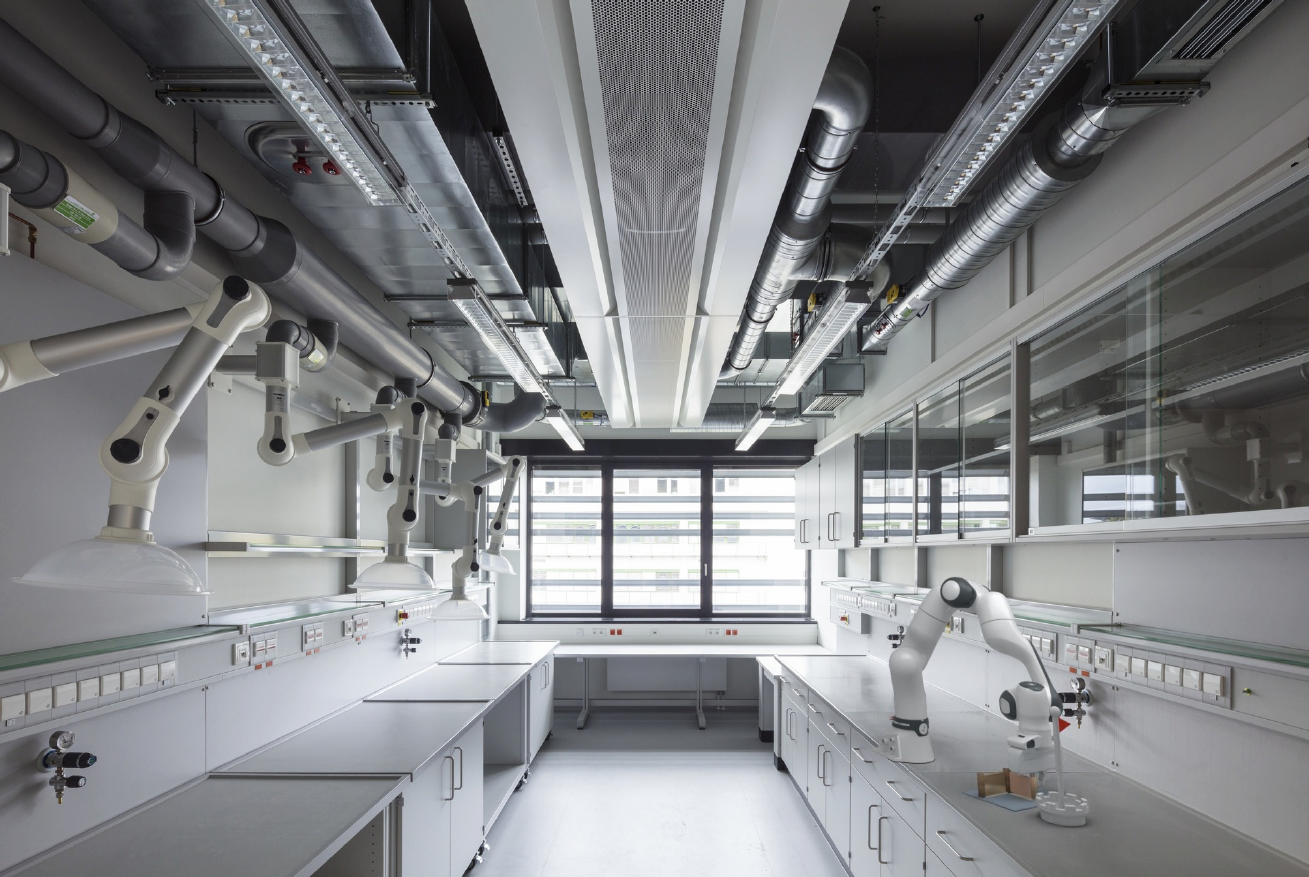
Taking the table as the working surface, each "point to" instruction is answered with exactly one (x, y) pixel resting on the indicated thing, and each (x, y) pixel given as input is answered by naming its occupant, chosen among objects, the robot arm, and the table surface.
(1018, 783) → the fence section
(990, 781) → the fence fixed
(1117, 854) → the table surface
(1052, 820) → the flag stand
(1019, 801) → the board
